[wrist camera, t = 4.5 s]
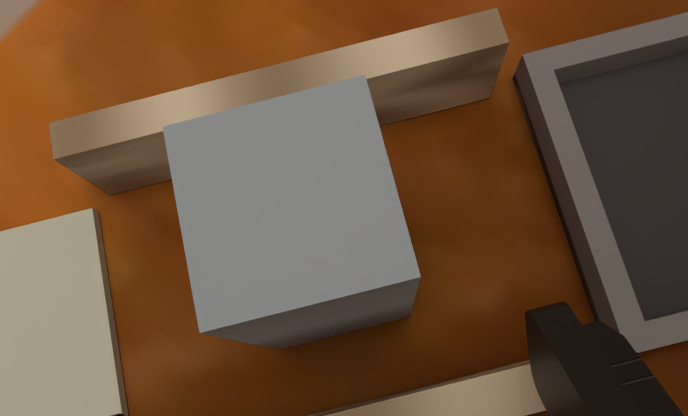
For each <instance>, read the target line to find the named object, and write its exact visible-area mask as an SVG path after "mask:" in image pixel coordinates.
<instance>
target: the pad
mask: <svg viewBox="0 0 688 416" xmlns="http://www.w3.org/2000/svg"><path fill="white" fill-rule="evenodd" d="M119 413H121V414H123V415H125V416H129V415H128V408H127V402H126V395H125V388H124V381H123V374H122V367H121V361H120V354H119V347H118V340H117V333H116V327H115V320H114V313H113V306H112V299H111V293H110V286H109V279H108V272H107V265H106V259H105V252H104V245H103V238H102V231H101V225H100V218H99V211H97V210H95V209H93V208H91V209H87V210H83V211H79V212H75V213H71V214H67V215H63V216H59V217H55V218H52V219H48V220H44V221H40V222H36V223H32V224H28V225H24V226H20V227H16V228H12V229H8V230H5V231H1V232H0V416H111V415H115V414H119Z"/></svg>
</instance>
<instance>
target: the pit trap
mask: <svg viewBox="0 0 688 416" xmlns="http://www.w3.org/2000/svg"><path fill="white" fill-rule="evenodd" d="M513 80H514V83H515V86H516V89H517V92H518V95H519V98H520V101H521V104H522V107H523V110H524V113H525V116H526V118H527V121H528V124H529V127H530V130H531V133H532V136H533V139H534V142H535V145H536V148H537V151H538V154H539V156H540V159H541V162H542V165H543V168H544V171H545V174H546V177H547V180H548V183H549V186H550V189H551V192H552V194H553V197H554V200H555V203H556V206H557V209H558V212H559V215H560V218H561V221H562V224H563V227H564V230H565V232H566V235H567V238H568V241H569V244H570V247H571V250H572V253H573V256H574V259H575V262H576V265H577V268H578V270H579V273H580V276H581V279H582V282H583V285H584V288H585V291H586V294H587V297H588V300H589V303H590V306H591V308H592V311H593V314H594V317H595V320H596V322H597V321H601V322H603V323H604V324H606V325H607V326H609V327H611V328H612V329H614V330H615V331H617V332H619V333H620V334H622V335H623V336H624V337H625V338H626V339H627V341H628V342H629V343H630V345H631V346H632V347H633V349H634V350H635V351H636V353H639V352H643V351H647V350H651V349H655V348H659V347H663V346H667V345H671V344H675V343H679V342H683V341H687V340H688V12H686V13H682V14H678V15H675V16H671V17H667V18H663V19H659V20H655V21H651V22H647V23H643V24H639V25H636V26H632V27H628V28H624V29H620V30H616V31H612V32H608V33H604V34H600V35H597V36H593V37H589V38H585V39H581V40H577V41H573V42H569V43H565V44H561V45H558V46H554V47H550V48H546V49H542V50H538V51H534V52H530V53H526V54H522V57H521V59H520V62H519V64H518V67H517V69H516V72H515V74H514V77H513Z"/></svg>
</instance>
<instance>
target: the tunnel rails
mask: <svg viewBox="0 0 688 416" xmlns="http://www.w3.org/2000/svg"><path fill="white" fill-rule="evenodd" d="M508 44H509V41H508V38H507V35H506V32H505V29H504V26H503V23H502V20H501V18H500V15H499V12H498V9H497V8H494V9H490V10H486V11H482V12H478V13H474V14H470V15H466V16H463V17H459V18H455V19H451V20H447V21H443V22H439V23H435V24H431V25H428V26H424V27H420V28H416V29H412V30H408V31H404V32H400V33H396V34H393V35H389V36H385V37H381V38H377V39H373V40H369V41H365V42H362V43H358V44H354V45H350V46H346V47H342V48H338V49H334V50H330V51H327V52H323V53H319V54H315V55H311V56H307V57H303V58H299V59H295V60H292V61H288V62H284V63H280V64H276V65H272V66H268V67H264V68H260V69H257V70H253V71H249V72H245V73H241V74H237V75H233V76H229V77H225V78H222V79H218V80H214V81H210V82H206V83H202V84H198V85H194V86H191V87H187V88H183V89H179V90H175V91H171V92H167V93H163V94H159V95H156V96H152V97H148V98H144V99H140V100H136V101H132V102H128V103H124V104H121V105H117V106H113V107H109V108H105V109H101V110H97V111H93V112H89V113H86V114H82V115H78V116H74V117H70V118H66V119H62V120H58V121H55V122H51V123H49V128H50V135H51V143H52V151H53V158H54V160H56V161H57V162H59V163H60V164H62V165H64V166H65V167H67V168H68V169H70V170H71V171H73V172H75V173H76V174H78V175H79V176H81V177H82V178H84V179H86V180H87V181H89V182H90V183H92V184H94V185H95V186H97V187H98V188H100V189H101V190H103V191H105V192H106V193H108V194H109V195H112V194H116V193H120V192H124V191H128V190H132V189H136V188H140V187H143V186H147V185H151V184H155V183H159V182H163V181H167V180H171V179H172V177H171V172H170V166H169V161H168V155H167V149H166V144H165V138H164V133H163V126H167V125H171V124H175V123H179V122H183V121H186V120H190V119H194V118H198V117H202V116H206V115H210V114H214V113H218V112H222V111H225V110H229V109H233V108H237V107H241V106H245V105H249V104H253V103H257V102H261V101H264V100H268V99H272V98H276V97H280V96H284V95H288V94H292V93H296V92H300V91H303V90H307V89H311V88H315V87H319V86H323V85H327V84H331V83H335V82H339V81H342V80H346V79H350V78H354V77H358V76H362V75H365V76H366V80H367V83H368V87H369V91H370V94H371V98H372V101H373V105H374V109H375V112H376V116H377V120H378V123H379V126H382V125H386V124H390V123H394V122H398V121H401V120H405V119H409V118H413V117H417V116H421V115H425V114H429V113H433V112H437V111H441V110H444V109H448V108H452V107H456V106H460V105H464V104H468V103H472V102H476V101H480V100H484V99H487V98H490V96H491V93H492V90H493V87H494V84H495V81H496V79H497V76H498V73H499V70H500V67H501V64H502V61H503V58H504V55H505V53H506V50H507V47H508ZM542 411H546V409H545V407H544V405H543V403H542V401H541V399H540V397H539V394H538V392H537V389H536V387H535V383H534V380H533V377H532V372H531V367H530V360H527V361H523V362H519V363H515V364H511V365H507V366H503V367H499V368H495V369H491V370H487V371H483V372H479V373H475V374H471V375H467V376H463V377H459V378H455V379H451V380H447V381H443V382H439V383H435V384H431V385H427V386H423V387H419V388H415V389H411V390H407V391H403V392H399V393H395V394H391V395H387V396H383V397H379V398H375V399H371V400H367V401H363V402H359V403H355V404H351V405H347V406H343V407H339V408H335V409H331V410H327V411H323V412H319V413H316V414H312V415H308V416H526V415H530V414H534V413H538V412H542Z"/></svg>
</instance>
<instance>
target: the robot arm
mask: <svg viewBox="0 0 688 416" xmlns="http://www.w3.org/2000/svg"><path fill="white" fill-rule="evenodd" d="M525 320H526V330H527V339H528V349H529V358H530V367H531V372H532V377H533V380H534V383H535V387H536V389H537V392H538V394H539V397H540V399H541V401H542V403H543V405H544V407H545V409H546V411H547V413H548V415H549V416H684V415H683V414H682V413H681V411H680V410H679V409H678V407H677V406H676V405H675V403H674V402H673V401H672V399H671V398H670V397H669V395H668V394H667V393H666V391H665V390H664V389H663V387H662V386H661V385H660V383H659V382H658V381H657V379H656V378H655V379H654V377H653V374H652V373H651V371H650V370H649V369H648V367H647V366H646V365H645V363H644V362H643V361H641V360H640V357H639V355H638V354H637V353H636V351H635V350H634V349H633V347H632V346H631V345H630V343H629V342H628V341H627V339H626V338H625V337H624V336H623V335H622V334H620V333H619V332H617V331H615V330H614V329H612V328H611V327H609V326H607V325H606V324H604V323H603V322H601V321H597V322H593V323H589V324H585V325H582V324H581V323H580V322H579V320H578V319H577V317H576V316H575V314H574V313H573V311H572V310H571V308H570V307H569V306H568V304H567V303H566V302H559V303H555V304H551V305H547V306H543V307H539V308H535V309H531V310H528V311H526V313H525ZM111 416H125V415H123V414H121V413H119V414H115V415H111Z"/></svg>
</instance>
